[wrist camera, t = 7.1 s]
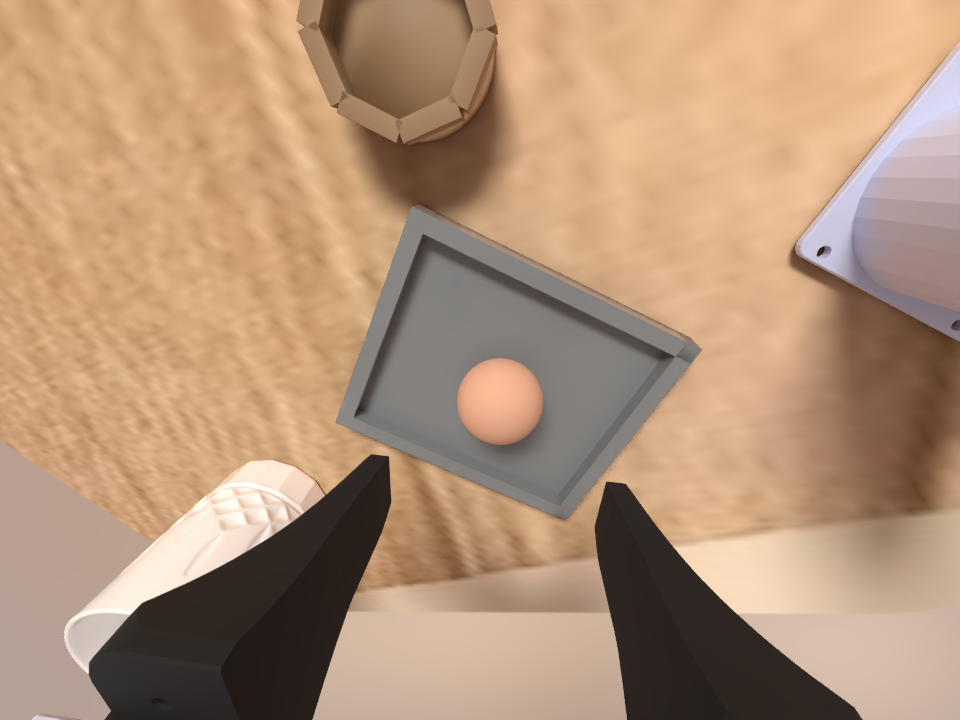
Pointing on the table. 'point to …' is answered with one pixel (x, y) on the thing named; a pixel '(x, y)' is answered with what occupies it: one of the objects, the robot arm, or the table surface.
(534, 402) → the ball
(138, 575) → the white cup
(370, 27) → the egg cup
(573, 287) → the tray
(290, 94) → the table surface
